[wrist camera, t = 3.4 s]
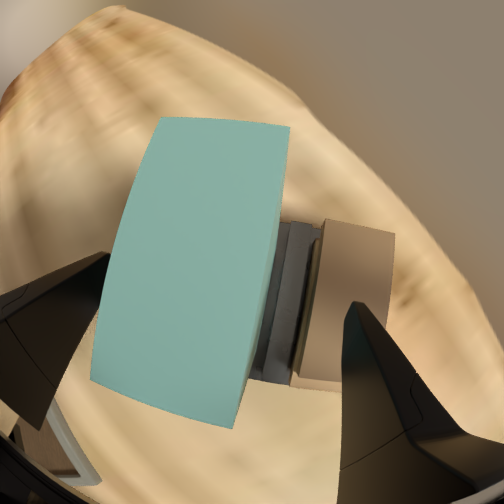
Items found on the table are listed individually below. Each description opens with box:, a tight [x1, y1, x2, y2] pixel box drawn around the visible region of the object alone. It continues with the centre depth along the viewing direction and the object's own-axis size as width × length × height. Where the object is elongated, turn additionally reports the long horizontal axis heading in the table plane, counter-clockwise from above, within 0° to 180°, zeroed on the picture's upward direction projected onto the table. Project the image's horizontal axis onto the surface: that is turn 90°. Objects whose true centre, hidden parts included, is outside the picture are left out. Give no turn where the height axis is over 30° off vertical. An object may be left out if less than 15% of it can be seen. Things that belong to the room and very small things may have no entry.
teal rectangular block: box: [90, 117, 290, 429], centre depth 11 cm, size 6×3×12 cm, turn 169°
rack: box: [248, 221, 321, 385], centre depth 16 cm, size 10×11×3 cm
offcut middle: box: [288, 240, 342, 393], centre depth 14 cm, size 8×4×1 cm, turn 169°
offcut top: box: [296, 219, 395, 382], centre depth 13 cm, size 8×4×1 cm, turn 169°
